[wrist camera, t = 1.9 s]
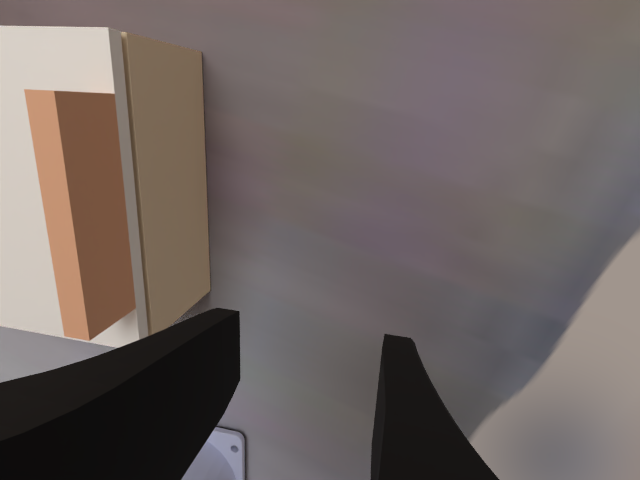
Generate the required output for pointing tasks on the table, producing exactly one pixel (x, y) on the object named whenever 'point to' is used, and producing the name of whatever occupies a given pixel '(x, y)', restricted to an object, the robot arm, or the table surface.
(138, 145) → the mailer box
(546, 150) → the table surface
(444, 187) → the table surface
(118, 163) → the lid
